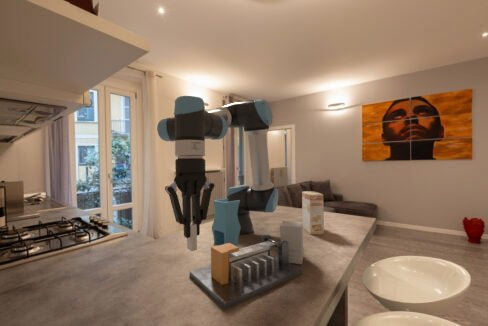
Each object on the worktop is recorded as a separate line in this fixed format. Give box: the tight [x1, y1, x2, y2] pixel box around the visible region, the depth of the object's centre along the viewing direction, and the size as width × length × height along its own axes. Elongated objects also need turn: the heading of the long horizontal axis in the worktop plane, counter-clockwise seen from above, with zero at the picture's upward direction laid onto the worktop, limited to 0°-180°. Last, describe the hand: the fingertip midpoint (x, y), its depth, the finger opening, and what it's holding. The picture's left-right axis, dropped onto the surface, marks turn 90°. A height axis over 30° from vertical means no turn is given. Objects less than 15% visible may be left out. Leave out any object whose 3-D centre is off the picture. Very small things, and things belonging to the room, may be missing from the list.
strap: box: [228, 238, 279, 262], centre depth 69 cm, size 6×20×2 cm, turn 127°
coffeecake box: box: [301, 190, 325, 236], centre depth 114 cm, size 15×7×20 cm, turn 179°
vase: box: [211, 198, 241, 247], centre depth 85 cm, size 8×8×20 cm
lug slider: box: [210, 243, 240, 285], centre depth 63 cm, size 6×6×8 cm
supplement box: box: [279, 220, 304, 265], centre depth 78 cm, size 7×7×13 cm
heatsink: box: [189, 234, 303, 311], centre depth 67 cm, size 20×28×8 cm
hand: (192, 248), depth 57 cm, fingers closed
